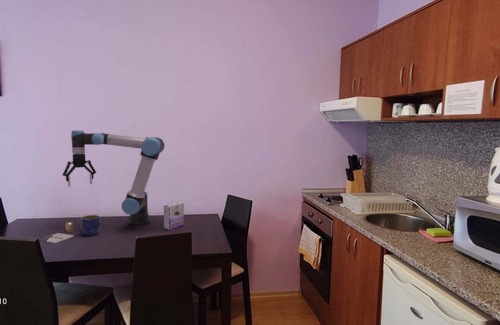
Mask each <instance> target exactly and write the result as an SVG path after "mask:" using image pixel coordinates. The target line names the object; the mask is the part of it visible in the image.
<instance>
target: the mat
mask: <svg viewBox="0 0 500 325" xmlns="http://www.w3.org/2000/svg"><path fill="white" fill-rule="evenodd" d="M51 235H52V237H50V238H49V239H48V240H47V242H46V243H49V242H51V243H50V244H58V243H60V242H62V241H65V240H69V239H70V238H74V237H75V235H73V234H68V233H60V232H57V233H54V234H51Z"/></svg>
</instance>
